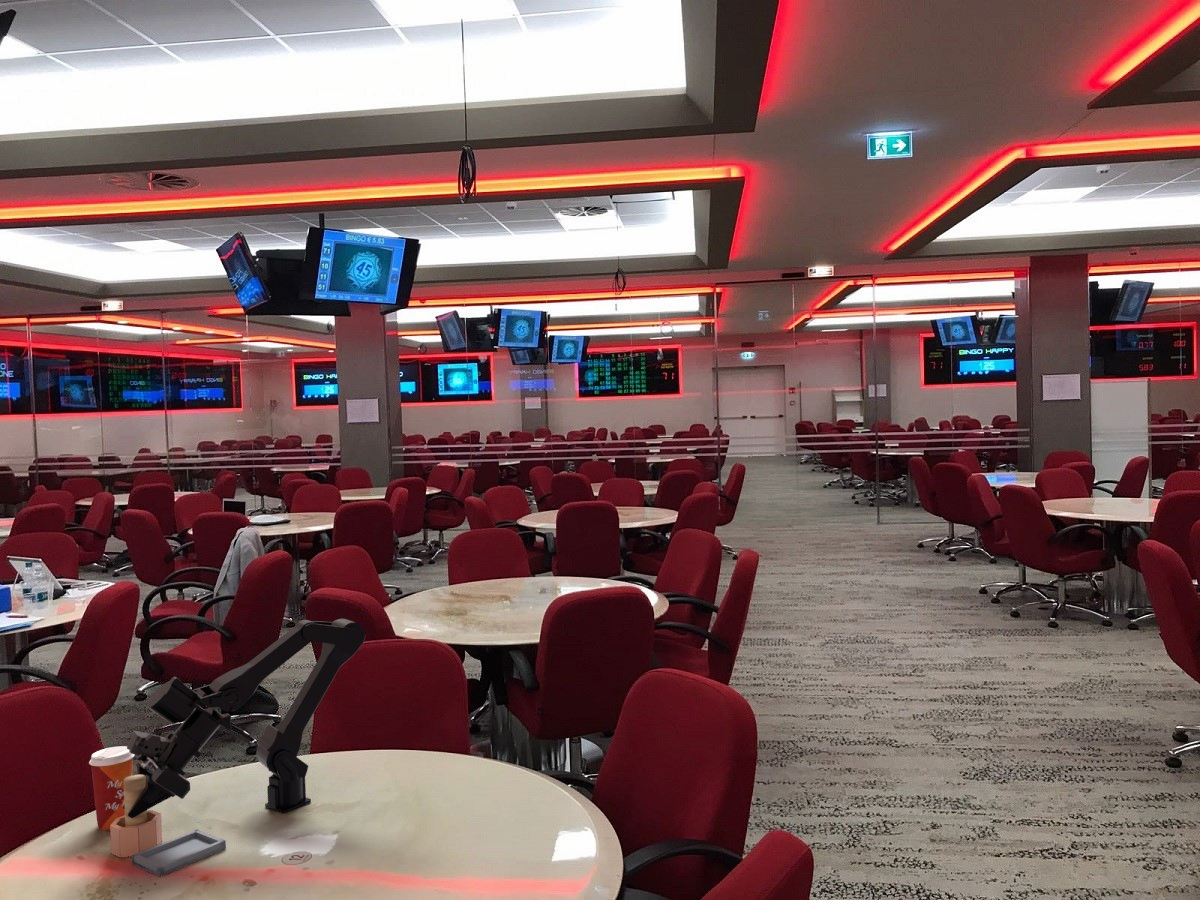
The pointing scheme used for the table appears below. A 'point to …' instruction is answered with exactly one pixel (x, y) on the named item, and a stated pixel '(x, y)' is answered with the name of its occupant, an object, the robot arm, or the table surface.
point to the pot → (135, 835)
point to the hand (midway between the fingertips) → (127, 813)
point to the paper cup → (110, 782)
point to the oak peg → (134, 798)
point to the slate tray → (178, 852)
